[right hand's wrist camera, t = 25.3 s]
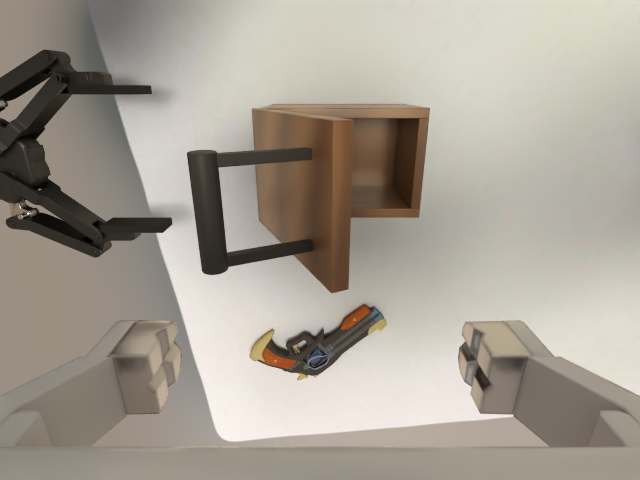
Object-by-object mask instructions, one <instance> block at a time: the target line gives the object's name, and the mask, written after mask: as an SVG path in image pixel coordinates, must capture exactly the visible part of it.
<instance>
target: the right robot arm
mask: <svg viewBox="0 0 640 480" xmlns="http://www.w3.org/2000/svg"><path fill="white" fill-rule="evenodd" d="M177 336H178V331H177V326H176V324H175V323H174V322H173V321H136V320H129V321H118V322H116V323H115V324H114V325H113V326H112V327H111V329H110V330H109V331H108V332H107V333H106V334H105V335H104V337H103V338H102V339H101V340H100V341H99V342H98V343H97V344H96V345H95V347H94V348H93V349H92V350H91V351H90V352H89V353H88V355H87V356H86V357H78V358H76V359H74V360H72V361H70V362H68V363H66V364H64V365H62V366H60V367H58V368H56V369H54V370H52V371H50V372H48V373H46V374H44V375H42V376H40V377H38V378H36V379H34V380H32V381H29V382H27V383H25V384H23V385H21V386H19V387H17V388H15V389H13V390H11V391H9V392H7V393H5V394H3V395H1V396H0V480H640V396H639V395H637V394H635V393H633V392H631V391H629V390H627V389H625V388H623V387H621V386H619V385H617V384H614V383H612V382H610V381H608V380H606V379H604V378H602V377H600V376H598V375H596V374H594V373H592V372H590V371H588V370H586V369H584V368H582V367H580V366H578V365H576V364H574V363H572V362H570V361H568V360H566V359H564V358H562V357H554V356H553V354H552V353H551V352H550V351H549V350H548V349H547V348H546V347H545V345H544V344H543V343H542V342H541V341H540V340H539V339H538V338H537V336H536V335H535V334H534V333H533V332H532V331H531V330H530V329H529V327H528V326H527V325H526V324H525V323H524V322H522V321H520V320H512V321H482V322H465V324H464V326H463V330H462V336H463V337H464V339H465V341H466V342H465V343H464V344H463V345H462V346H461V347H460V348H459V356H458V361H459V369H460V373H461V376H462V378H463V380H464V382H466V383H467V384H468V385H470V386H471V387H472V389H471V396H472V398H473V400H474V402H475V404H476V406H477V408H478V410H479V412H480V414H514V415H513V416H514V417H515V418H516V419H518V420H519V421H520V422H521V423H522V424H524V425H525V426H526V427H527V428H528V429H530V430H531V431H532V432H533V433H534V434H536V435H537V436H538V437H539V438H540V439H542V440H543V441H544V442H545V443H546V444H548V445H549V446H550V447H90V446H91V445H92V444H94V443H95V442H96V441H97V440H98V439H100V438H101V437H102V436H103V435H104V434H106V433H107V432H108V431H109V430H111V429H112V428H113V427H114V426H115V425H117V424H118V423H119V422H120V421H121V420H122V419H124V418H125V417H126V416H127V415H126V414H159V413H160V412H161V410H162V408H163V406H164V404H165V402H166V400H167V398H168V396H169V389H168V387H169V386H170V385H172V384H173V383H174V382H176V380H177V378H178V375H179V373H180V368H181V363H182V354H181V348H180V347H179V346H178V345H177V344H176V343H175V342H174V341H175V339H176V337H177Z"/></svg>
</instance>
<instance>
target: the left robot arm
mask: <svg viewBox="0 0 640 480" xmlns="http://www.w3.org/2000/svg"><path fill="white" fill-rule="evenodd" d="M70 62H71V61H70V57H69V55H68V54H66V53H65V52H59V51H52V50H42V51H41V52H39V53H38V54H36V55H35V56H33V57H32V58H30V59H29V60H27V61H25V62H24V63H22V64H21V65H19V66H18V67H16V68H15V69H13V70H12V71H10V72H9V73H7V74H6V75H4V76H2V77H1V78H0V112H1V111H2V110H4V109H5V107H7V106H8V103H7V102H6V101H10V100H13V99H15V98H17V97H19V96H21V95H22V94H24V93H25V92H27V91H29V90H30V89H32V88H33V87H35V86H37V85H38V84H40V83H41V82H43V81H44V80H46V79H48V78H49V77H50V79H49V80H48V81H47V82H46V83H45V85H44V86H43V87H42V88H41V89H40V91H39V92H38V93H37V94H36V95H35V97H34V98H33V99H32V100H31V101H30V103H29V104H28V105H27V106H26V107H25V109H24V110H23V111H22V112H21V114H20V115H19V116H18V117H17V118H16V119H15V120H13V121H11V122H10V123H9V122H7V121H6V120H4V119H1V118H0V199H1V200H4V201H6V202H8V203H9V204H10V209H11V214H12V217H10V218H8V219H7V220H6V224H7V226H8V227H10V228H12V229H20V230H29V231H31V232H34V233H36V234H39V235H41V236H44V237H46V238H48V239H51V240H53V241H56V242H58V243H61V244H63V245H66V246H68V247H70V248H73V249H75V250H78V251H80V252H82V253H85V254H87V255H90V256H92V257H99V256H100V255H101V254H103V253H104V252H105V251H107V250H108V249H109V248H111V246H112V244H111V242H110V241H115V240H116V241H119V240H120V241H121V240H123V241H125V240H127V241H131V240H134V239H136V238H137V237H138V236H139V235H141V233H163V232H164V231H165V230H166V229H167V228H169V227H170V226H171V225H172V219H171V218H112V219H110V220H109V221H107V222H106V221H104V220H103V219H101V218H100V217H98V216H97V215H96V214H94V213H93V212H91V211H90V210H88V209H87V208H85V207H84V206H82V205H81V204H79V203H78V202H77V201H75V200H74V199H72V198H71V197H69V196H68V195H66V194H65V193H63V192H62V191H61V188H60V187H59V186H58V185H56V184H55V183H53V182H52V181H50V180H49V179H48V176H49V175H50V170H49V167H48V165H47V163H46V162H45V152H44V148H43V145H40V144H39V143H38V141H37V140H36V139H37V138H38V137H39V135H40V134H41V133H42V132H43V131H44V130H45V128H44V126H45V125H46V124H47V123H48V122H49V121H50V119H51V118H52V117H53V116H54V115H55V114H56V112H57V111H58V110H59V109H60V108H61V107H62V105H63V104H64V103H65V102H66V101H67V100H68V99H69V97H70V96H71V95H72V94H152V91H151V86H143V85H113V83H112V78H111V75H110V74H108V73H105V72H77V71H75V70H74V69H73V67H72V66H71V64H70ZM39 188H40V189H42V190H39V191H38V189H39ZM25 200H28V201H29V202H31V203H33V204H35V205H41V206H42V207H44V208H45V209H47V210H48V211H50V212H51V213H53V214H54V215H56V216H57V217H59V218H60V219H62V220H60V219H58V218H55V217H53V216H51V215H48V214H45V213H39V210H38V209H37V208H32V207H29V206H28V205H27V204H26V203H25Z"/></svg>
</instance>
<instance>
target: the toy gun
mask: <svg viewBox="0 0 640 480" xmlns="http://www.w3.org/2000/svg"><path fill="white" fill-rule="evenodd" d="M386 325H387V324H386V321H385V319H384V317H383V315H382V314H381V313H380V312H378V311H377V309H376V308H374V309H373V308H372V309H369V308H368V307H367V306H366V305H363V306H362V307H360V308H359V309H358V310H356V311H355V312H353V313H352V314H351V315H349V316H348V317H346V318H345V320H344V321H343V323H342V325H341V327H340V328H339V329H338V330H337V331H335V332H334V333H333V334H331V335H329V336H327V337H324V330H322V331H321V333H320V334H319V335H318V336H317V337H316V338H312V336H311V335H309V334H307V333H303V334H302V335H301V336H299V337H298V338H296V339H294V340H291V341H288V342H287V343H286V347H287V348H288V350H289V353H287V352H284V351H282V350H280V349H278V348H276V347H275V345H274V344H273V342H272V341H271V338H272V336H273V334H274V332H273V331H270V332H268V333H267V334H266V335H264V336H263V337H262V338H261V339H259V340H258V341H257V342H256V344H255V345H254V346H253V348H252V350H251V353H250V358H251V359H252V360H253V361H259V362H261V363H263V364H266V365H268V366H272V367H276V368H280V369H283V370H284V371H288V372H291V373H298V374H299V375H300V376H299V377H298V379H297V380H302V379H303V378H308V376H307V375H312V376H314V377H316V376H317V375H318V374H320V373H322V372H323V371H324V370H326V369H327V368H328V367H330V366H331V365H332V364H333V363H334V362H335V361H336V360H337V359H338V358H339V357H340V356H341V355H342V354H343V353H344V352H345V351H347V350H348V349H349V348H351V347H352V346H353V345H355V344H356V343H357V342H359V341H360V340H361V339H363V338H364V337H366V336H367V335H369V334H370V333H372V332H373V331H375V330H376V329H377V328H378V329H379V330H380V331H381V330H382V329H383V328H384V327H385V326H386ZM303 340H305V341H306V342H307V346H305V347H304V348H303V349H301V350H300V351H299V350H298V349H297V346H298V343H300V342H301V341H303ZM293 345H294V351H295V352H294V351H293V350H292V349H291V346H293ZM317 347H318V348H317ZM295 348H296V350H297V351H298V352H296V350H295ZM311 352H312V354H311V356H310V358H309V361H308V357H309V354H310V353H311ZM326 353H327V354H326ZM327 355H329V358H328V359H327V360H326V356H327ZM306 356H308V357H307V360H306V359H305V357H306ZM323 361H324V362H323ZM321 362H323V363H321ZM320 363H321V364H320ZM318 364H320V365H318ZM311 365H315V367H312V366H311ZM316 365H318V366H316Z"/></svg>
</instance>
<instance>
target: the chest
mask: <svg viewBox="0 0 640 480" xmlns="http://www.w3.org/2000/svg"><path fill="white" fill-rule="evenodd" d="M263 108H266V109H274V110H281V111H289V112H297V113H305V114H313V115H321V116H328V117H336V118H344V119H352V120H353V121H354V122H353V155H352V187H351V217H419V210H420V201H421V191H422V181H423V171H424V161H425V151H426V141H427V131H428V122H429V119H428V118H429V111H430V108H426V107H419V106H413V105H406V104H273V105H270V106H266V107H263Z"/></svg>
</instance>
